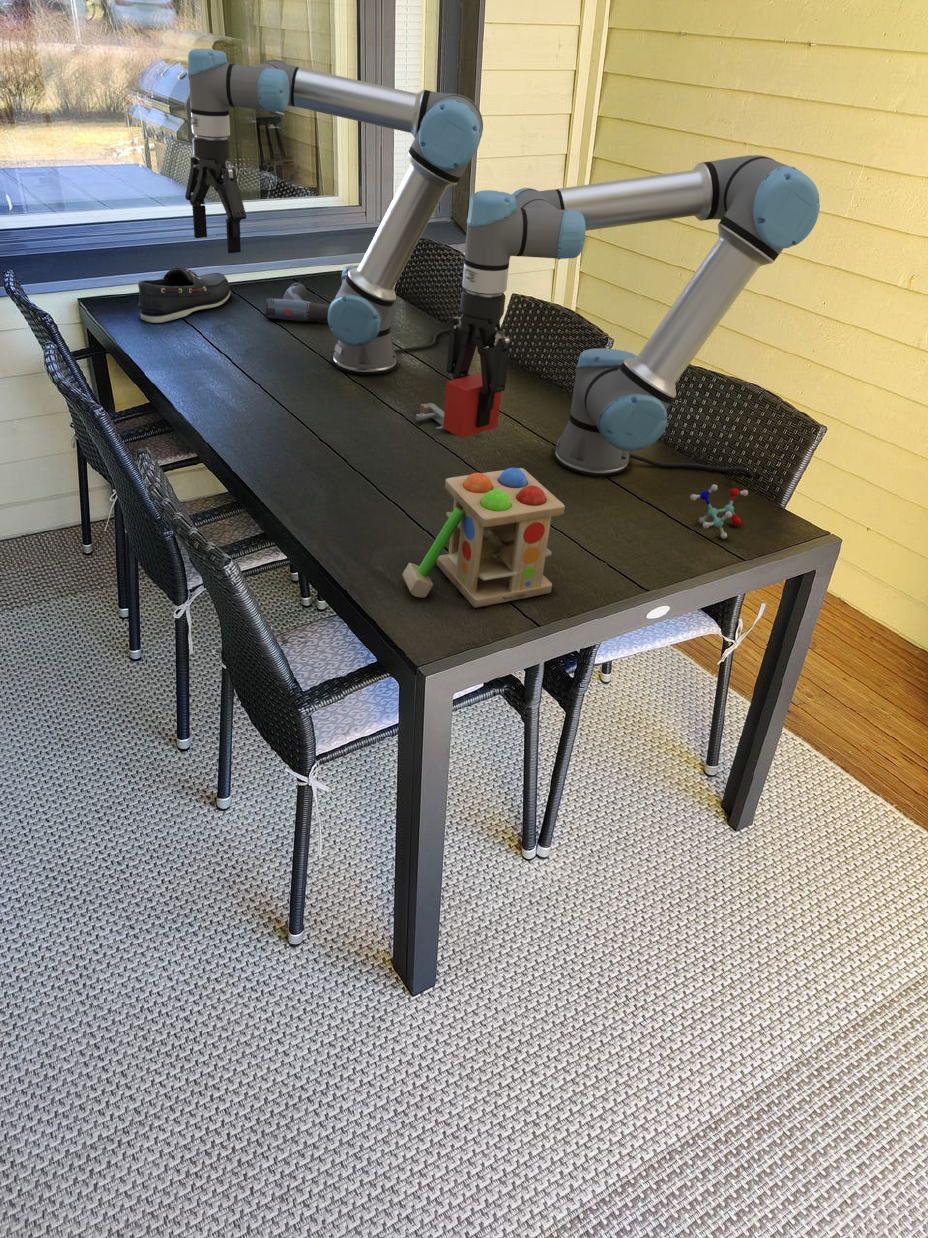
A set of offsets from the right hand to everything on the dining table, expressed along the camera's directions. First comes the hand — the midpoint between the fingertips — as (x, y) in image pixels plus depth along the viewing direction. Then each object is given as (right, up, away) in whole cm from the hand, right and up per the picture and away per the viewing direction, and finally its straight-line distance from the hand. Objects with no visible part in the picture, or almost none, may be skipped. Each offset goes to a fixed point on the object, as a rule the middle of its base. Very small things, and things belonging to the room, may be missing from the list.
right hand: (471, 419), depth 179 cm
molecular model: (+45, -19, +5) cm, 49 cm away
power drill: (-44, +47, +89) cm, 110 cm away
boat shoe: (-76, +47, +84) cm, 123 cm away
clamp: (-6, +5, +33) cm, 34 cm away
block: (0, -1, +1) cm, 2 cm away
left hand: (-55, +45, +33) cm, 78 cm away
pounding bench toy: (0, -31, -19) cm, 36 cm away
